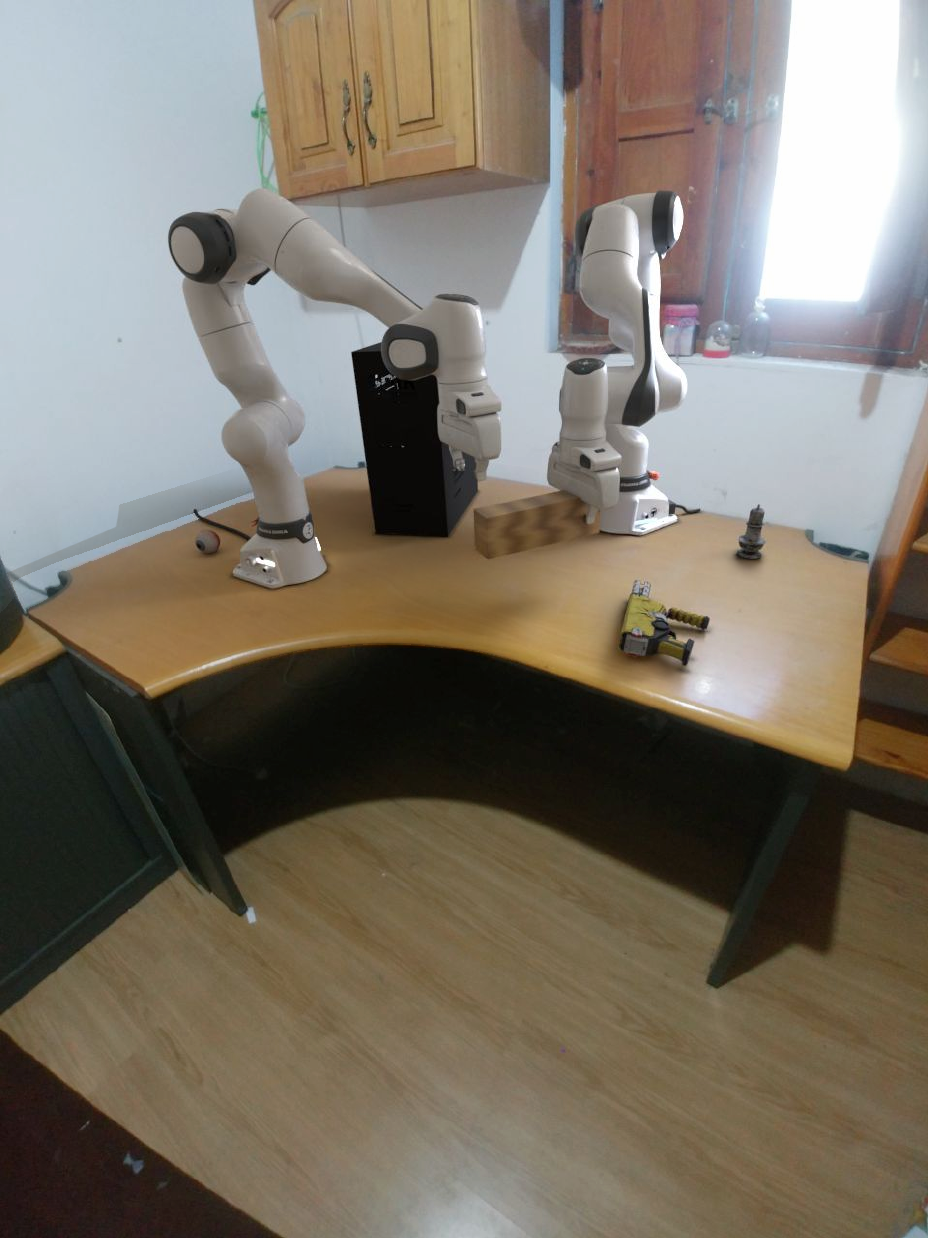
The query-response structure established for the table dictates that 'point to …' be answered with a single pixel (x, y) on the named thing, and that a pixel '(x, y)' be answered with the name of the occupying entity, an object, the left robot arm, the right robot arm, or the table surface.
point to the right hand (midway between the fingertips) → (578, 517)
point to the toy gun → (655, 627)
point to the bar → (531, 523)
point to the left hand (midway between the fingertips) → (469, 474)
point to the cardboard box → (408, 452)
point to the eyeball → (207, 541)
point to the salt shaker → (752, 535)
